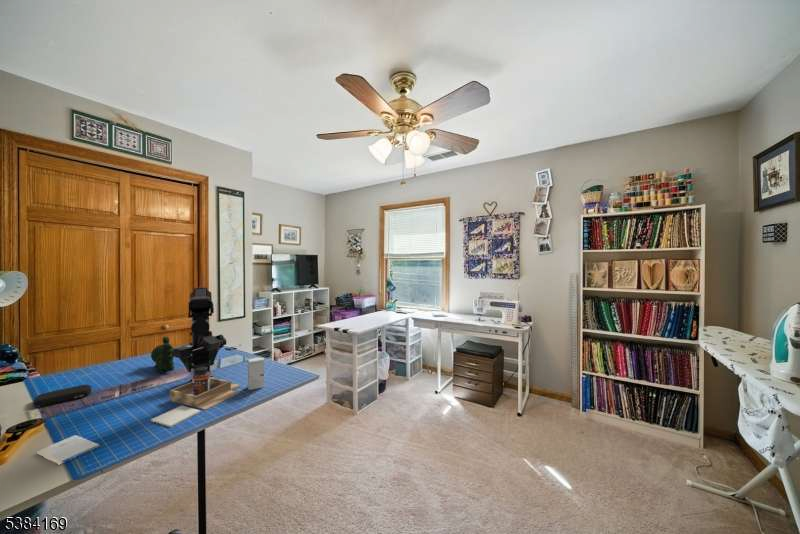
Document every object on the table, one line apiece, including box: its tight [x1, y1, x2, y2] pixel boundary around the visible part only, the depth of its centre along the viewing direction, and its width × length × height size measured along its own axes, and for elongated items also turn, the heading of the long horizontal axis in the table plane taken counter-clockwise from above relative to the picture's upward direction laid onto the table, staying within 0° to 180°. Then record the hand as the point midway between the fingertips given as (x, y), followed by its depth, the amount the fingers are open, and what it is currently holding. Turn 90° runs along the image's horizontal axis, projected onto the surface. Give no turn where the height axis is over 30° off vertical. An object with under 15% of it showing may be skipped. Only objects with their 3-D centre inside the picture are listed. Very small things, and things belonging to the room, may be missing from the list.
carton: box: [169, 377, 242, 411], centre depth 119 cm, size 20×20×4 cm
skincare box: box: [247, 356, 265, 391], centre depth 126 cm, size 6×4×12 cm
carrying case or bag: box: [32, 384, 92, 407], centre depth 114 cm, size 11×3×15 cm
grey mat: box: [150, 405, 201, 428], centre depth 102 cm, size 10×10×1 cm
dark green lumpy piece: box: [150, 336, 175, 374], centre depth 145 cm, size 9×19×25 cm
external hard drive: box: [48, 434, 100, 461], centre depth 84 cm, size 2×8×12 cm
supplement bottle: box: [191, 366, 211, 396], centre depth 118 cm, size 6×6×11 cm
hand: (201, 367), depth 118 cm, fingers open, 9 cm apart
